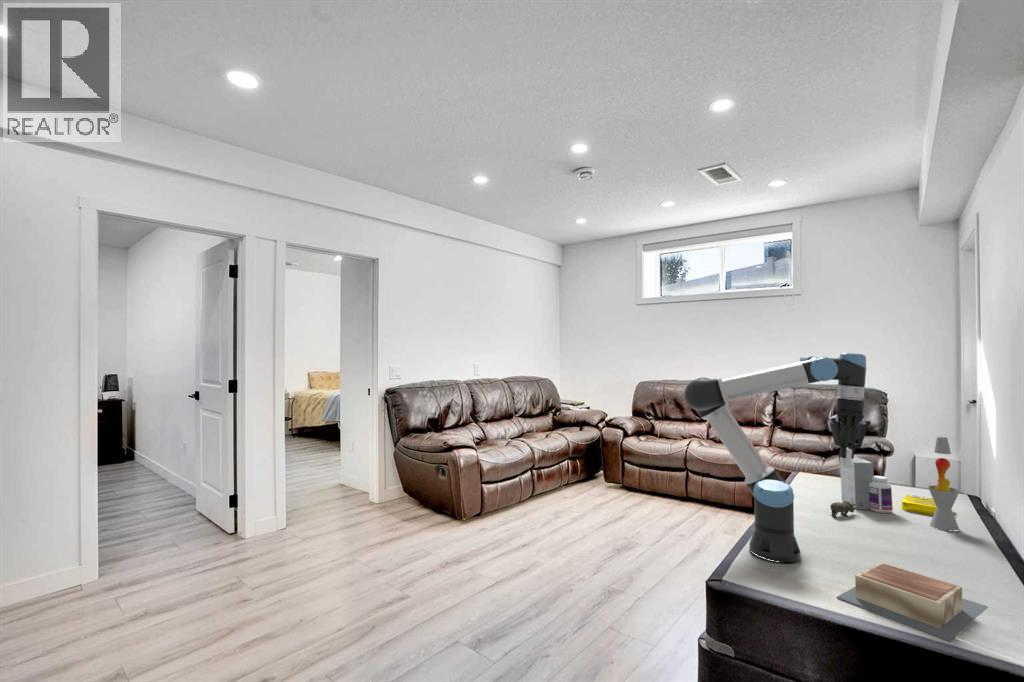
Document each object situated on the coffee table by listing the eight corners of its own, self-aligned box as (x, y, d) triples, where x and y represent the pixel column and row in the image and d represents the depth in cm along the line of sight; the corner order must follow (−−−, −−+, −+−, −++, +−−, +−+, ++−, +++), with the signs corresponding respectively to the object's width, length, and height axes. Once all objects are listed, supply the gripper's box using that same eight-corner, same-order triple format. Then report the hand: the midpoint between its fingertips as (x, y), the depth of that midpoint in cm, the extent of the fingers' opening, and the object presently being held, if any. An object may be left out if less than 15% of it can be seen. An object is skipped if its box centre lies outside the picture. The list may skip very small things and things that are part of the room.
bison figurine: (860, 515, 202) (860, 501, 202) (836, 519, 198) (836, 504, 198) (851, 512, 206) (851, 498, 206) (827, 516, 202) (826, 501, 202)
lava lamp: (958, 533, 181) (955, 439, 182) (927, 527, 188) (924, 436, 189) (962, 528, 187) (959, 437, 188) (931, 522, 194) (929, 434, 195)
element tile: (901, 511, 209) (900, 499, 209) (906, 503, 220) (906, 492, 220) (947, 519, 198) (947, 507, 199) (951, 511, 209) (950, 500, 209)
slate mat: (881, 573, 148) (881, 572, 148) (988, 608, 128) (988, 606, 128) (836, 598, 133) (836, 596, 133) (950, 641, 113) (950, 640, 113)
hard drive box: (876, 510, 208) (873, 463, 209) (855, 509, 210) (853, 462, 211) (859, 500, 223) (857, 456, 224) (840, 499, 225) (839, 455, 226)
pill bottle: (892, 510, 209) (890, 476, 209) (893, 515, 202) (891, 480, 203) (868, 507, 213) (867, 474, 214) (869, 511, 207) (867, 477, 207)
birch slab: (880, 561, 142) (855, 574, 133) (961, 586, 126) (939, 602, 118) (881, 582, 141) (855, 597, 133) (962, 610, 126) (939, 628, 118)
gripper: (837, 398, 162) (832, 468, 162) (878, 401, 161) (873, 472, 161) (824, 396, 170) (819, 463, 169) (863, 399, 169) (859, 466, 168)
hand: (846, 467), depth 165 cm, fingers closed
